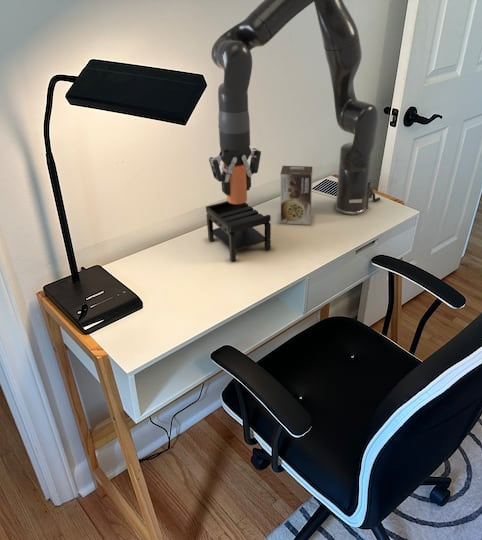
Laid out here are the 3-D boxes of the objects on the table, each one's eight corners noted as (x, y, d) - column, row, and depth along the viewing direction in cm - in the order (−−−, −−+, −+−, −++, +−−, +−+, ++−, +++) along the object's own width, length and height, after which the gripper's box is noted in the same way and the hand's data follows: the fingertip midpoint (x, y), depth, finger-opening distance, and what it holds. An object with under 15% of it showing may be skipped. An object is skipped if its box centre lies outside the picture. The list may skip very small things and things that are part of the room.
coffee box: (311, 215, 158) (313, 166, 149) (310, 225, 152) (312, 174, 144) (281, 214, 159) (282, 164, 150) (279, 223, 153) (280, 173, 144)
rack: (245, 229, 150) (244, 196, 144) (270, 249, 140) (270, 215, 135) (207, 240, 144) (204, 206, 139) (231, 262, 135) (229, 227, 129)
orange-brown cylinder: (240, 194, 138) (239, 159, 133) (250, 201, 134) (249, 165, 129) (223, 198, 136) (221, 162, 130) (233, 206, 132) (231, 169, 127)
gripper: (215, 136, 119) (219, 203, 128) (267, 126, 125) (267, 190, 134) (200, 128, 124) (205, 192, 133) (251, 119, 130) (253, 181, 140)
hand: (236, 191), depth 134 cm, fingers closed on orange-brown cylinder, 5 cm apart
